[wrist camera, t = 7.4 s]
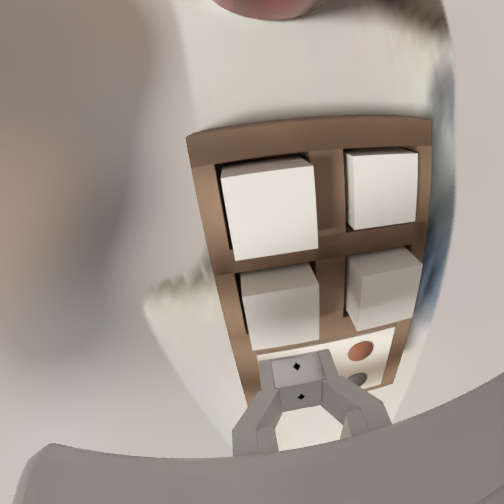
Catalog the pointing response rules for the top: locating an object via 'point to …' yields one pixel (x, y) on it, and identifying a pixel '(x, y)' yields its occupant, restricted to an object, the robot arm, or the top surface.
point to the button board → (329, 233)
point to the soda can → (269, 8)
